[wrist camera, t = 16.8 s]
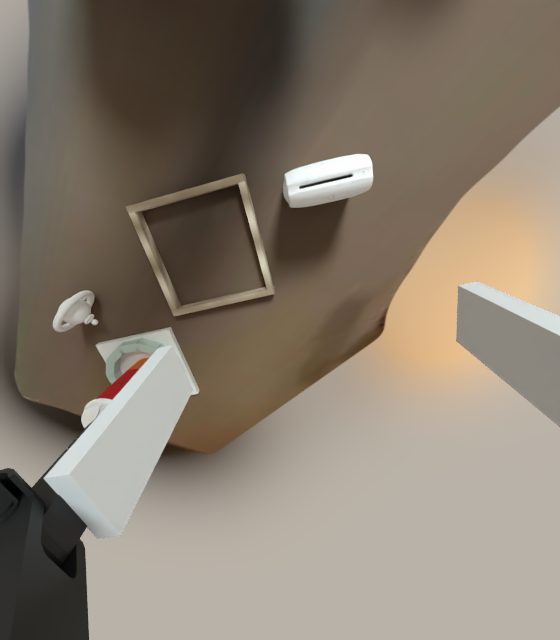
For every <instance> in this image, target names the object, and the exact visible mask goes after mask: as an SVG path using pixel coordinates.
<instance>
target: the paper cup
mask: <svg viewBox="0 0 560 640" xmlns="http://www.w3.org/2000/svg"><path fill="white" fill-rule="evenodd" d="M148 359H149V358H143V359H140V360H139V361H137V362H136V363H135V364H134V365H133V366H132V367H130V368H129V369H128V370H127V371H126V372H125V373H124V374H123V375H122V376H120V377H119V378H118V379H117V380H116V381H115V382H114V383H113V384H112V385H110V386H109V387H108V388H107V389H106V390H105V391H104V392H103V393H102V394H101V395H99V396H98V397H97V398H96V399H94V400H92V401H90V402H89V403H88V404H87V405H86V406H85V408H84V412H83V414H82V419H81V421H82V424H83V426H84V428H86V427H87V425H88V424H90V423H91V422H92V421H93V420H95V419H96V418H97V417H98V416H99V415H100V413H101V412H102V411H103V410H104V409H105V408H106V407H107V405H108V404H109V403H110V402H111V401H112V400H113V399H114V398H115V396H116V395H117V394H118V393H119V392H120V391H121V390H122V388H123V387H124V386H125V385H126V384H127V383H128V382H129V380H130V379H131V378H132V377H133V376H134V375H135V374H136V373H137V371H138V370H139V369H140V368H141V367H142V366H143V365H144V363H145V362H146V361H147V360H148Z"/></svg>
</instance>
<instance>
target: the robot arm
mask: <svg viewBox="0 0 560 640" xmlns="http://www.w3.org/2000/svg"><path fill="white" fill-rule="evenodd" d="M456 341H457V342H458V343H459V344H461V345H462V346H463V347H464V348H465V349H467V350H468V351H469V352H470V353H471V354H473V355H474V356H475V357H476V358H477V359H479V360H480V361H481V362H482V363H483V364H485V365H486V366H487V367H488V368H489V369H491V370H492V371H493V372H494V373H495V374H497V375H498V376H499V377H500V378H501V379H503V380H504V381H505V382H506V383H507V384H509V385H510V386H511V387H512V388H514V389H515V390H516V391H517V392H519V394H521V395H522V396H523V397H524V398H526V399H527V400H528V401H529V402H530V403H532V404H533V405H534V406H535V407H537V408H538V409H539V410H540V411H541V412H542V413H544V414H545V415H546V416H547V417H548V418H550V419H551V420H552V421H553V422H554V423H556V424H557V425H558V426H559V427H560V316H558V315H555V314H553V313H551V312H548V311H546V310H543V309H541V308H539V307H537V306H534V305H532V304H529V303H527V302H525V301H522V300H520V299H518V298H515V297H513V296H511V295H508V294H505V293H503V292H501V291H499V290H496V289H494V288H492V287H489V286H487V285H484V284H482V283H480V282H472V283H467V284H463V285H459V286H458V307H457V339H456ZM192 391H193V388H192V386H191V384H190V382H189V379H188V377H187V375H186V373H185V371H184V369H183V366H182V364H181V362H180V360H179V358H178V356H177V354H176V351H175V349H174V347H173V345H170V346H166V347H161V348H158V349H157V350H156V351H155V352H154V353H153V354H152V356H151V357H150V358H149V359H148V360H147V361H146V362H145V363H144V365H143V366H142V367H141V368H140V369H139V370H138V371H137V373H136V374H135V375H134V376H133V377H132V378H131V379H130V380H129V382H128V383H127V384H126V385H125V386H124V387H123V388H122V390H121V391H120V392H119V393H118V394H117V395H116V396H115V398H114V399H113V400H112V401H111V402H110V403H109V404H108V405H107V407H106V408H105V409H104V410H103V411H102V412H101V413H100V415H99V416H98V417H97V418H96V419H95V420H93V421H92V422H91V423H90V424H88V425H87V427H86V428H85V429H84V430H83V431H82V432H81V433H80V435H79V436H78V437H77V439H75V440H74V441H73V442H72V443H71V444H70V446H69V447H68V449H67V450H65V451H64V452H63V453H62V455H61V456H60V457H59V458H58V459H57V460H56V461H55V462H54V464H53V465H52V466H51V467H50V468H49V469H48V470H47V471H46V473H45V474H44V475H43V476H42V477H41V478H40V479H39V480H38V482H37V483H36V484H35V485H34V486H33V487H32V488H31V487H30V486H29V485H28V484H27V483H26V482H25V481H24V480H23V479H22V478H21V477H20V476H19V475H18V473H17V472H16V471H15V470H14V469H9V468H7V469H3V470H0V640H89V630H88V608H87V585H86V561H85V547H84V544H83V542H82V541H81V540H80V537H81V535H82V534H83V532H84V531H85V529H86V527H87V528H88V529H89V530H90V531H91V532H92V533H93V534H94V535H95V536H96V537H97V538H105V537H114V536H121V533H122V531H123V530H124V528H125V526H126V523H127V522H128V520H129V517H130V516H131V514H132V512H133V510H134V507H135V505H136V503H137V502H138V500H139V498H140V495H141V494H142V491H143V490H144V488H145V485H146V484H147V482H148V479H149V477H150V475H151V474H152V472H153V469H154V468H155V465H156V464H157V461H158V459H159V458H160V456H161V454H162V451H163V450H164V448H165V446H166V444H167V442H168V440H169V438H170V436H171V434H172V431H173V429H174V427H175V425H176V423H177V421H178V419H179V417H180V415H181V413H182V411H183V409H184V407H185V405H186V403H187V401H188V399H189V397H190V395H191V393H192Z"/></svg>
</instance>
